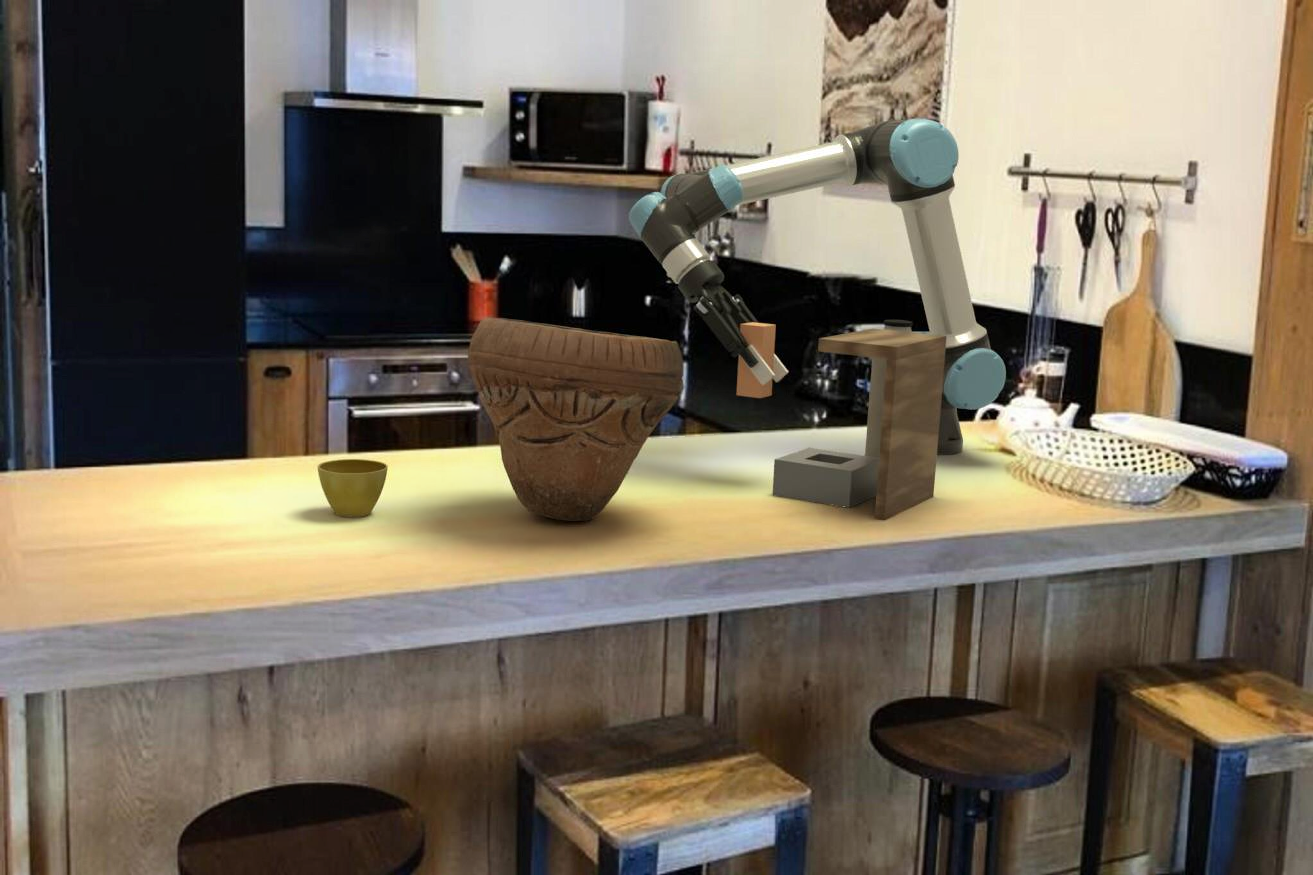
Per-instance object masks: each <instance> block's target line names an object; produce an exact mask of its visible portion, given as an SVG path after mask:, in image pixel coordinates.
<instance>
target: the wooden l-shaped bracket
mask: <svg viewBox="0 0 1313 875" xmlns="http://www.w3.org/2000/svg"><path fill="white" fill-rule="evenodd" d="M883 329H884V328H881V329H879V328H869V329H863V330H857V331H852V332H851V331H850V332H847V333H841V334H837V335H830V336H825V337H820V338H818V347H817V352H819V353H820V352H822V353H830V354H831V353H832V354H838V355H849V356H858V357H865V358H866V357H867V358H872V357H874V358H883V359H887V360H886V374H885V387H884V401H883V414H882V427H881V441H880V454H879V468H878V481H877V494H876V496H875V510H874V511H875V512H874V520H879V521H881V520H882V521H886V520H888V519H890V518H892V517H894V516H896V515H898V514H900V513H903V512H904V511H906V510H908V509H911V508H913V507H914V506H916V505H918V504H920V503H922V502H925V501H927V500H929V499H930V498H931V499H932V498H933V497H934V495H935V494H934V493H935V492H934V491H935V480H936V472H937V471H936V470H937V460H938V458H937V457H938V454H937V447H938V435H939V423H940V410H941V398H942V386H943V374H944V362H945V349H946V337H947V336H942V335H932V334H922V333H912V332H913V331H912V332H902V331H892V330H883Z"/></svg>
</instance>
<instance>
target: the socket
mask: <svg viewBox="0 0 1313 875" xmlns="http://www.w3.org/2000/svg"><path fill="white" fill-rule="evenodd" d="M773 462H774V465H773V479H772V494H771V495H772V496H775V495H776V496H777V497H782V498H787V497H788V498H787V499H793V500H799V499H800V501H806V502H811V501H812V502H813V503H817V502H820V503H819V504H823V503H825V505H829V504H833V505H832V506H835V505H837V506H836V507H841V506H845V507H844V508H847V507H848V508H849V507H850V508H852V507H855V506H856V504H857V505H859V504H860V502H861V503H863V502H865V501H867V499H868V500H870V499H872V498H874V497H875V498H876V494H877V481H878V468H879V458H876V457H869V456H865V455H863V454H861V455H860V454H856V453H848V452H841V451H833V450H827V449H821V448H813V447H808V448H807V447H806V448H805V449H801V450H798V451H796V452H795V451H794V452H791V453H789V454H787V455H784V456H780V457H776V458H775V459H774V461H773ZM851 506H852V507H851Z"/></svg>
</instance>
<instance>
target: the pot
mask: <svg viewBox="0 0 1313 875" xmlns="http://www.w3.org/2000/svg"><path fill="white" fill-rule="evenodd" d="M474 331H475V332H474V333H473V335H472V336H471V339H470V341H469V347H468V348H469V349H468V354H467V358H468V359H467V360H468V363H469V367H468V368H469V371H470V376H471V377H472V380H473V382H474V385H475V387H476V390H477V392H478V397H479V399H480V401H481V404H482V405H483V407H484V409H485V411H486V413H487V415H488V416H489V418H490V420H491V422H492V424H493V427H494V429H495V431H496V432H497V433H499V434H498V441H499V443H498V444H499V447H500V453H501V462H502V464H503V467H504V470H505V473H506V475H507V477H508V480H509V483H510V485H511V487H512V490H513V492H514V494H515V495H516V497H517V499H518V500H519V502H520V503H521V504H522V506H523V507H524V509H526V510H527V512H530V513H533V514H536V515H539V516H543V517H546V518H551V519H555V520H559V521H560V520H561V521H568V522H586V521H590V520H593V519H594V518H595V517H596V516H597V515H599V514H600V513H601V512H602V511H603V510H604V509H605V508H606V506H607V505H608V504H609V503H610V501H611V500H612V499H613V497H614V496H615V494H616V493H617V492H618V491H619V489H620V487H621V486H622V484H623V481H624V480H625V478H626V477H627V475H628V474H629V471H630V469H631V467H632V465H633V464H634V461H635V460H636V459H637V458H638V455H639V454H640V452H641V450H642V448H643V446H644V445H645V443H646V441H647V440H648V438H649V436H650V435H651V433H652V432H653V431H654V429H655V428H656V427H657V425H658V424H659V422H660V421H661V420H663V419H664V417H665V416H666V415H667V413H668V412H669V411H670V410H671V409H672V408H673V407H674V405H675V403H676V402H677V401H678V399H679V398H680V393H681V392H682V388H683V384H684V380H683V379H682V377H683V376H684V375H685V373H684V360H683V353H682V351H681V349H680V346H679V343H678V342H677V341H676V340H674V341H671V340H668V339H660V338H656V337H655V338H654V337H647V336H638V335H630V334H623V333H622V334H620V333H615V332H609V331H608V332H607V331H598V330H590V329H583V328H577V327H576V328H575V327H569V326H562V325H555V324H549V323H541V322H534V321H533V322H532V321H529V320H520V319H511V318H504V317H487V316H485V317H484V318H483V319H481V320H480V322H479V323H478V325H477V327H476V329H475V330H474Z"/></svg>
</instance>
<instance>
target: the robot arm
mask: <svg viewBox="0 0 1313 875" xmlns="http://www.w3.org/2000/svg"><path fill="white" fill-rule="evenodd" d="M958 164H959V147H958V143H957V141H956V138H955V136H954V135H953V134H952V132H951V131H950V130H949V128H947V127H946V126H944V125H943V124H941V123H940V122H938V121H935V120H930V119H926V118H919V117H918V118H909V119H890V120H886V121H882V122H878V123H875V124H873V125H869V126H867V127H864V128H860V129H857V130H854V131H850V132H847V133H842V134H838V135H837V136H836V137H834V140H833V141H832V142H826V143H821V144H819V145H818V144H817V145H814V146H809V147H805V148H799V149H795V150H790V151H785V152H781V153H777V154H771V155H768V156H763V157H758V158H754V159H750V160H746V161H741V162H736V163H731V164H727V165H725V164H720V165H717V166H716V167H713V168H709V169H705V170H704V169H703V170H701V171H695V172H691V173H678V174H675V175H674V174H673V175H672V176H670V177H668V179H666V180H665V182H664V183H663V184H662V187H661V189H660V192H658V191H654V192H651V193H650V194H646V195H645V196H643V197H642V198H640V199H639V200H638V201H637V202H636V203H634V205H633V206H632V208H631V209H630V211H629V213H628V220H629V223H630V224H631V226H632V228H633V229H634V230H635V232H636V234H637V235H638V237H639V239H640V240H641V241H642V242H643V243H644V245H645V246H646V247H647V248H648V249H649V251H650V252H651V253H652V255H653V256H654V257H655V259H656V260H657V261H658V262H659V264H660V265H661V266H662V268H663V269H664V270H665V271H666V276H667V277H668V278H671V280H672V281H673V282H674V284H678V289H679V291H680V292H681V293H682V294H683V296H684V298H686V300H687V301H688V302H689V303H692V304H693V303H694V304H695V303H697V304H696V305H694V306H693V310H694V311H695V312H696V313H697V315H699V316H700V318H701V319H702V320H703V321H704V323H706V325H707V327H708V328H709V329H710V330H711V332H712V333H713V334H714V335H715V337H716V338H717V340H718V341H719V342H720V343H721V344H722V346H723V347H724V348H725V349H726V351H727V352H728V353H731V354H730V355H731V356H732V357H733V358H736V357H737V356H738V357H739V356H740V357H741V358H742V360H743V361H744V362H745V363H746V365H747V366H748V367H749V369H750V370H751V371H752V373H753V374H754V375H755V377H756V378H757V379H758V381H759V382H760V383H761V385H762V386H763V385H765V384H766V383H767V382H768V381H769V380H771V379H772V378H773V381H774V382H775V383H779V382H780V381H781V380H782V379H783V378H784V377H785V376H787V375H788V373H789V370H788V369H787V368H786V366H785V365H784V364H783V362H781V360H780V358H779V357H778V356H777V355H776V354H775V352H774V362H773V371H772V370H771V369H770V367H769V366H768V365H767V363H766V362H765V361H764V360H763V358H762V357H761V356H760V354H759V353H758V352H757V350H756V349H755V348H754V347H753V345H750V346H749V347H747V346H748V343H747V341H746V340H745V338H744V336H743V335H742V333H741V331H740V324H744V323H751V322H755V323H759V321H758V320H757V319H756V317H755V316H754V314H753V313H752V312H751V311H750V310H749V308H748V307H747V306H746V304H745V302H744V300H743V298H742V296H741V295H740V294H735V295H734V296H732V295H731V293H730V292H729V291H728V290H726V289H725V287H723V282H724V280H725V275H724V272H723V271H722V269H721V268H720V267H719V266H718V265H717V264H716V262H715V261H714V260H712V259H711V255H710V253H708V251H707V250H706V249H705V248H704V247H703V245H702V243H701V242H699V240H698V239H697V237H696V236H695V235H694V234H696V233H697V232H699V231H700V230H702V229H704V228H705V227H707V226H708V225H709V224H711V223H713V222H714V221H716V220H718V219H719V218H720V217H722V216H723V215H725V214H726V213H728V212H731V211H732V210H733V209H734V208H735V207H737V206H739V205H745V204H750V203H753V202H754V203H755V202H758V201H764V200H767V199H772V198H776V197H777V198H778V197H782V196H785V195H789V194H794V193H799V192H804V191H807V190H814V189H817V188H823V187H826V186H832V185H836V184H840V183H842V184H843V185H844V186H845V187H852V186H855V185H861V184H886V185H887V189H888V193H889V197H890V202H891V203H892V204H893V205H895V206H896V207H898V208H900V210H901V211H902V215H903V220H904V225H905V229H906V233H907V238H908V242H909V247H910V251H911V252H910V253H911V254H912V255H911V256H912V259H913V260H912V261H913V264H914V270H915V273H916V276H917V281H918V286H919V289H920V290H919V291H920V295H921V300H922V303H923V306H924V307H923V308H924V311H925V312H924V313H925V316H926V321H927V325H928V329H929V331H912V333H922V334H932V335H942V336H947V337H946V349H945V362H944V374H943V386H942V398H941V410H940V423H939V435H938V447H937V455H953V454H954V455H955V454H958V453H961V452H962V451H963V446H964V445H963V444H964V437H963V433H962V430H961V426H960V420H959V417H958V410H957V409H961V410H963V409H966V410H971V411H972V410H979V409H980V410H981V409H983V408H985V407H987V406H989V405H990V404H992V403H993V402H994V401H995V400H996V399H997V398H998V396H1000V395H999V394H1000V393H1001V392H1002V390H1003V388H1004V386H1005V383H1006V378H1007V376H1006V375H1007V370H1006V365H1005V363H1004V360H1003V359H1002V358H1001V356H1000V355H999V354H998V353H997V352H996V351H994V350H993V349H991V344H990V340H989V336H988V335H989V334H988V332H987V329H986V327H983V326H982V325H980V324H979V323H977V321H976V316H975V310H974V306H973V304H972V298H971V293H970V287H969V283H968V280H967V275H966V270H965V266H964V262H963V257H962V252H961V247H960V243H959V238H958V235H957V229H956V225H955V220H954V214H953V212H952V207H951V202H950V196H951V194H952V193H953V191H954V189H955V188H956V183H955V178H954V173H955V170H956V167H958ZM739 354H740V355H739Z"/></svg>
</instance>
